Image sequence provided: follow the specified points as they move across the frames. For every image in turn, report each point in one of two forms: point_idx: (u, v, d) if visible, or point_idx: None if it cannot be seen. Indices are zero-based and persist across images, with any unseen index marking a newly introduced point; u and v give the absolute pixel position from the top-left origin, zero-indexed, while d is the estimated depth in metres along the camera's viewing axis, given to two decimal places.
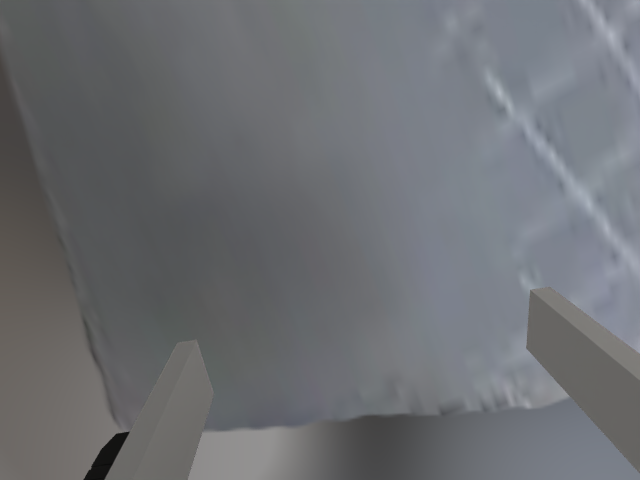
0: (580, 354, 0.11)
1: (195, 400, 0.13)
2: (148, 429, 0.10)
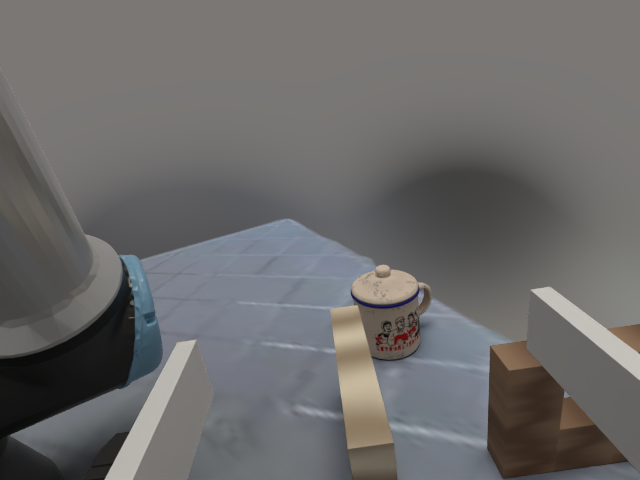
0: (580, 354, 0.11)
1: (195, 400, 0.13)
2: (148, 429, 0.10)
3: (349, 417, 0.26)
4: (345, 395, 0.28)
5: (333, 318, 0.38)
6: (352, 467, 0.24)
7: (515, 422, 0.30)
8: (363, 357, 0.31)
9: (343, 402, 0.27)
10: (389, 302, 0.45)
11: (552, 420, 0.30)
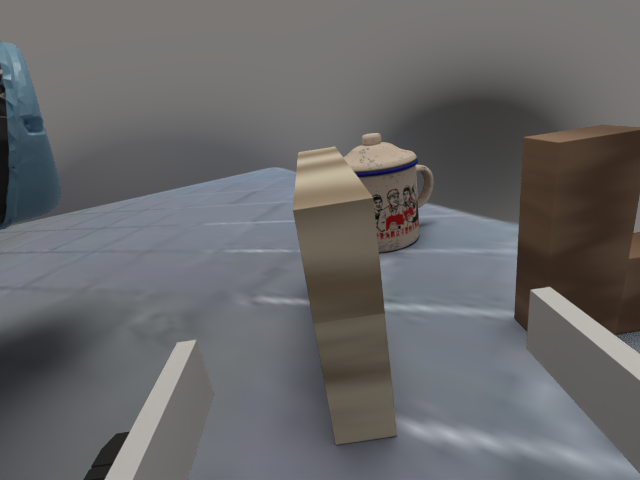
0: (579, 354, 0.11)
1: (195, 400, 0.13)
2: (148, 429, 0.10)
3: (304, 193, 0.16)
4: (302, 183, 0.18)
5: (300, 155, 0.28)
6: (303, 252, 0.14)
7: (563, 244, 0.20)
8: (336, 164, 0.21)
9: (297, 187, 0.17)
10: (379, 167, 0.34)
11: (619, 241, 0.20)
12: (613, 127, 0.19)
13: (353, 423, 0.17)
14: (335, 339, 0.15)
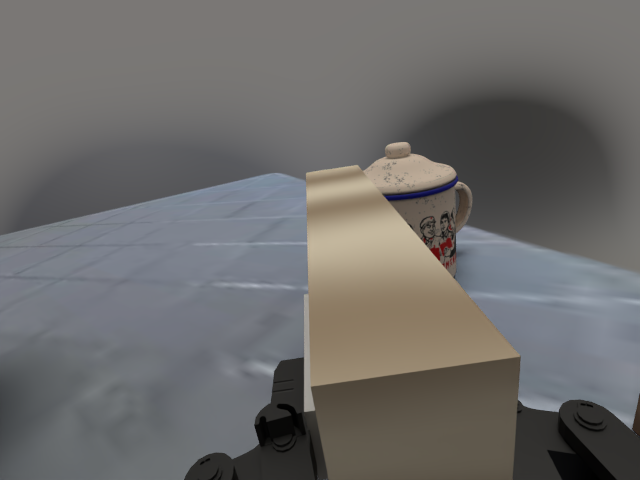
0: None
1: None
2: None
3: (328, 296, 0.07)
4: (320, 256, 0.09)
5: (310, 178, 0.19)
6: (333, 470, 0.06)
7: None
8: (372, 205, 0.13)
9: (312, 269, 0.09)
10: (411, 188, 0.26)
11: None
12: None
13: None
14: None
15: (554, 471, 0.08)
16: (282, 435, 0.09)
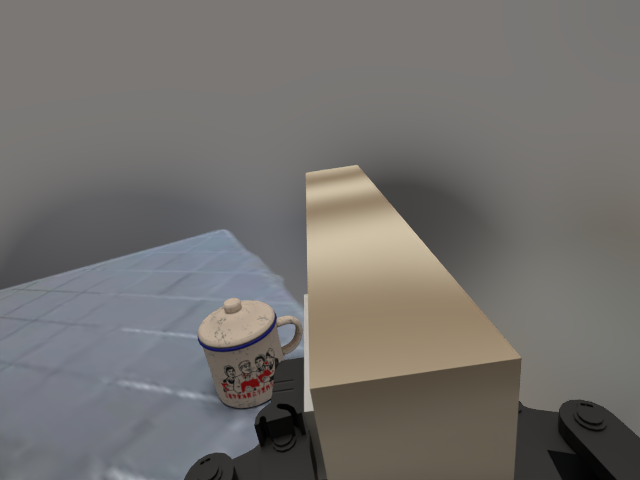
0: None
1: None
2: None
3: (328, 297, 0.07)
4: (320, 257, 0.09)
5: (309, 178, 0.19)
6: (333, 472, 0.06)
7: None
8: (371, 204, 0.13)
9: (311, 269, 0.09)
10: (227, 345, 0.38)
11: None
12: None
13: None
14: None
15: (554, 471, 0.08)
16: (282, 435, 0.09)
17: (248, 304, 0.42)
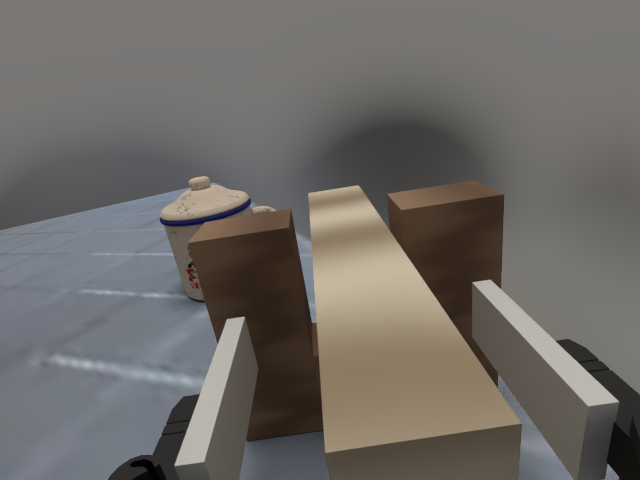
0: (507, 340, 0.13)
1: (247, 371, 0.14)
2: (217, 389, 0.11)
3: (337, 347, 0.08)
4: (327, 298, 0.10)
5: (312, 200, 0.20)
6: None
7: None
8: (375, 236, 0.13)
9: (320, 313, 0.09)
10: (190, 216, 0.33)
11: (295, 339, 0.18)
12: (281, 217, 0.18)
13: None
14: None
15: None
16: None
17: None
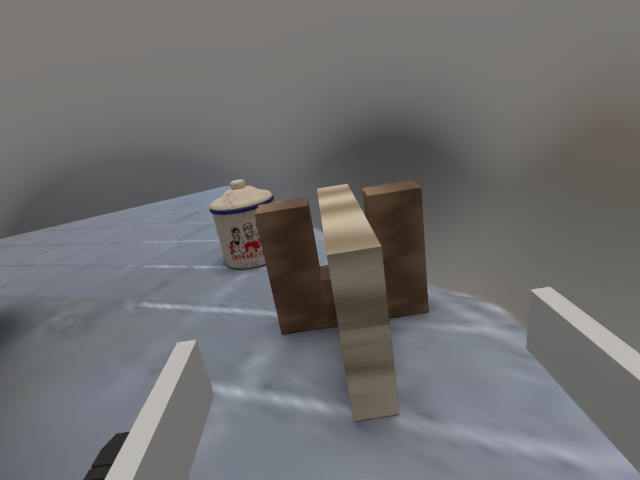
0: (580, 354, 0.11)
1: (195, 400, 0.13)
2: (148, 429, 0.10)
3: (331, 238, 0.22)
4: (328, 227, 0.24)
5: (319, 192, 0.34)
6: (333, 282, 0.20)
7: (276, 272, 0.32)
8: (351, 207, 0.28)
9: (325, 231, 0.23)
10: (233, 207, 0.47)
11: (311, 269, 0.32)
12: (302, 201, 0.32)
13: (366, 405, 0.23)
14: (354, 342, 0.22)
15: None
16: None
17: (250, 186, 0.52)
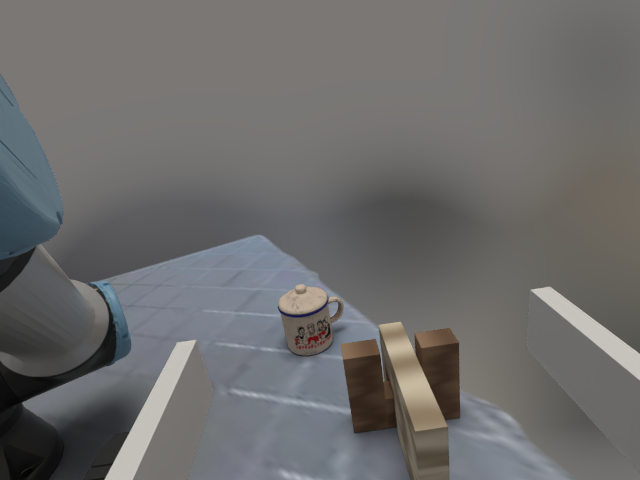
0: (580, 354, 0.11)
1: (195, 400, 0.13)
2: (148, 429, 0.10)
3: (412, 409, 0.35)
4: (405, 393, 0.37)
5: (383, 333, 0.47)
6: (417, 444, 0.34)
7: (354, 394, 0.46)
8: (414, 364, 0.41)
9: (405, 398, 0.37)
10: (301, 313, 0.60)
11: (378, 392, 0.46)
12: (374, 345, 0.45)
13: None
14: (426, 475, 0.35)
15: None
16: None
17: (310, 288, 0.65)
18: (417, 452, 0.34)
